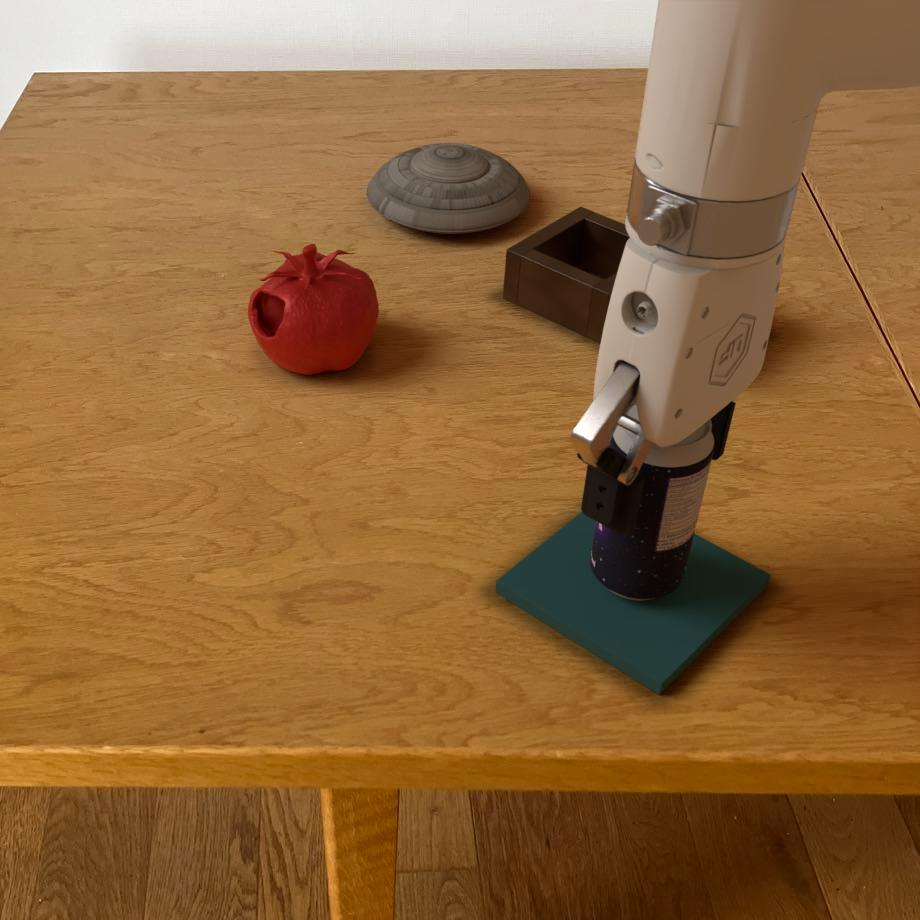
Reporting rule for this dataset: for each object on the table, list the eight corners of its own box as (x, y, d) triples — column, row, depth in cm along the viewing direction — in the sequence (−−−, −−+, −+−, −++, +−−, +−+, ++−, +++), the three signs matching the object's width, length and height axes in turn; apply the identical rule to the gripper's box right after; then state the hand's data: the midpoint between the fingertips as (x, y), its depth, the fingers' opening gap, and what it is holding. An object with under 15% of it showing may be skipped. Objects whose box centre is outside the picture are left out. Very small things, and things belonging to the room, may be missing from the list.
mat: (768, 586, 74) (771, 574, 73) (659, 695, 68) (662, 683, 67) (608, 499, 80) (610, 488, 79) (494, 592, 74) (495, 580, 73)
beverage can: (663, 540, 76) (697, 384, 68) (695, 603, 72) (735, 445, 63) (576, 550, 75) (600, 394, 67) (604, 615, 71) (633, 457, 63)
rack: (763, 334, 95) (776, 284, 92) (695, 387, 90) (706, 336, 87) (574, 253, 104) (580, 206, 101) (502, 298, 99) (506, 249, 96)
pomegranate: (382, 318, 97) (382, 212, 90) (374, 390, 89) (374, 280, 83) (261, 313, 97) (252, 208, 91) (242, 385, 90) (232, 275, 84)
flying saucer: (338, 192, 113) (336, 136, 109) (472, 157, 118) (475, 103, 114) (420, 262, 103) (421, 203, 99) (561, 221, 109) (568, 164, 105)
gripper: (675, 303, 50) (619, 596, 62) (870, 166, 59) (789, 443, 71) (532, 242, 54) (505, 529, 65) (736, 122, 63) (680, 392, 75)
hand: (653, 483), depth 68 cm, fingers open, 8 cm apart
